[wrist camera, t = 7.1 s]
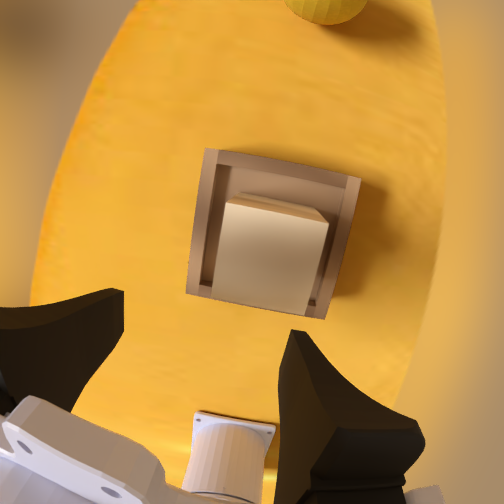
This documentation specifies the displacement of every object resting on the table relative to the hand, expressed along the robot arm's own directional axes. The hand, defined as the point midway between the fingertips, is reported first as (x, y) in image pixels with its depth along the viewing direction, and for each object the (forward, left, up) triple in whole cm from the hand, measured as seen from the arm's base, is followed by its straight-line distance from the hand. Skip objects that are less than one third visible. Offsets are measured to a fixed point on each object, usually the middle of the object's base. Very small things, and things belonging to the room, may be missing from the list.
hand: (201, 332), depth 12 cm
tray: (+3, -2, -10) cm, 10 cm away
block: (+3, -2, -7) cm, 8 cm away
